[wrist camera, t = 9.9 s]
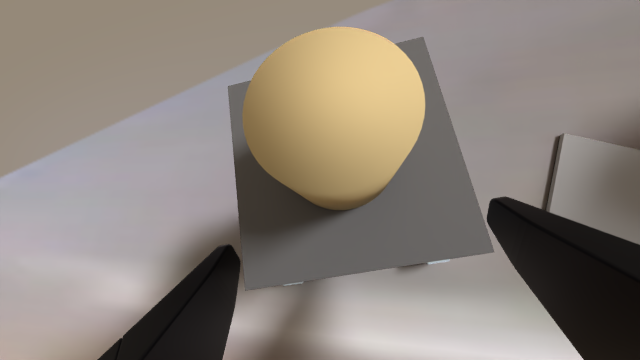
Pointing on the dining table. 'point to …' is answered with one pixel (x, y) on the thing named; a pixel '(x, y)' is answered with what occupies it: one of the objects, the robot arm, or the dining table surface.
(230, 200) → the dining table surface
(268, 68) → the plug block
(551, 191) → the grey pad
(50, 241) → the dining table surface
